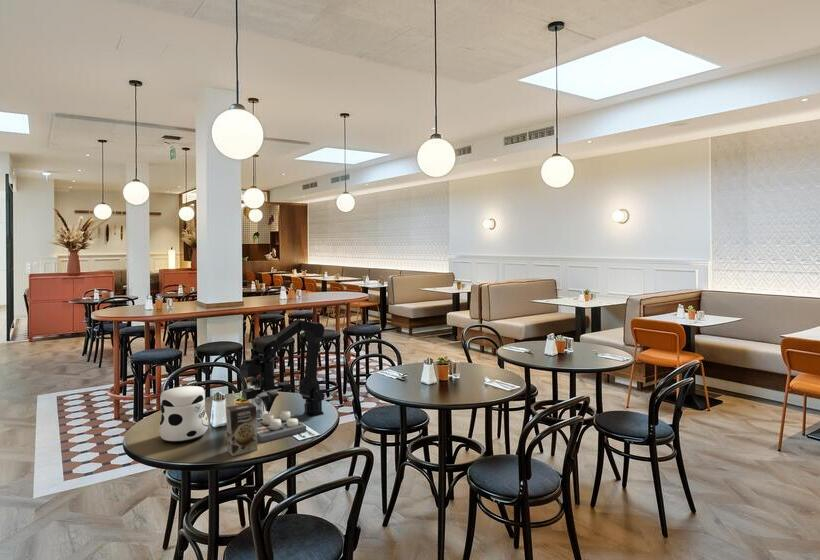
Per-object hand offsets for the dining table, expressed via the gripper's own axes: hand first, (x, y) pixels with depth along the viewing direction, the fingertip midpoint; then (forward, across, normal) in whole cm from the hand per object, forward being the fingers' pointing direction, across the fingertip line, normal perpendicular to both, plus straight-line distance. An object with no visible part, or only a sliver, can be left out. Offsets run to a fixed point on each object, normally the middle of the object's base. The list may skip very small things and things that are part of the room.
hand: (268, 411), depth 204 cm
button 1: (+5, 0, 0) cm, 5 cm away
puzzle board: (+7, -1, +4) cm, 8 cm away
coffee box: (+7, +16, +14) cm, 23 cm away
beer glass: (+7, -1, -16) cm, 18 cm away
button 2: (+5, 0, +7) cm, 8 cm away
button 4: (+6, -7, +7) cm, 12 cm away
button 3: (+5, -7, 0) cm, 8 cm away
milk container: (+7, +29, -12) cm, 32 cm away
